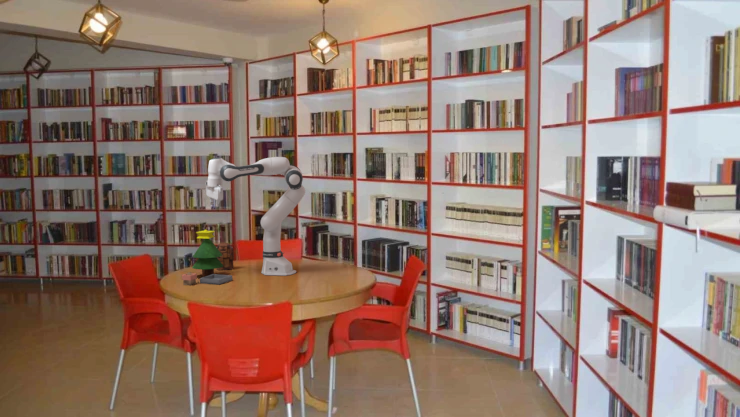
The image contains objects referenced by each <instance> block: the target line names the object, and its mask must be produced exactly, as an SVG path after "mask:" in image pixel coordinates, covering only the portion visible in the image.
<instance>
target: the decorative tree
mask: <svg viewBox="0 0 740 417" xmlns="http://www.w3.org/2000/svg"><path fill="white" fill-rule="evenodd" d="M215 231H216V230H208V229H204V230H200V231H196V232H195V234H197V235H198V236H197V237H196V239H203V240H202V242H201V243H200V245H199V246H198V248H197V250H196V251H195V253H194V254H193V256H192V258H196V260H195V263H194V264H193V265H192V267H191V268H192V269H195V270H201V278H203V277H206V276H209V275H212V274H215V269H216V268H221V267H223V264H222V263H221V262H220V261H219V260H218V259H217V257H220V256H222V254H221V253H220V251H219V250H218V249H217V246H216V244H214V242H213V241H212V240H211V239H212V238H215V235H213V234H214V233H215ZM216 270H217V269H216Z"/></svg>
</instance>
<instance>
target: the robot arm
mask: <svg viewBox="0 0 740 417" xmlns="http://www.w3.org/2000/svg"><path fill="white" fill-rule="evenodd" d="M207 174H208V177H207V180H206V181H205V195H206V197H207V198H208V199H209V205H214V200H215V205H214V206H215V208H219V207H220V203H221V201H223V200H224V190H223V181H225V182H232V181H234V180H236V179H237V178H240V177H246V176H247V177H248V176H273V175H282V176H284V179H285V180H284V181H285V182H286V184H287V185H288V188H287V190H286V191H285V192H284V193H283V194H282V195H281V196H280V198H278V200H276V202H275V203H274V204H273V205H272V206H271V207H270V208H269V209H268V210H267V211H266V212H265V213H264V214H263V215H262V217H261V219H260V227H261V228H262V229H263V230H264V231H263V238H262V247H263V250H262V260H263V261H262V268H261V271H260V272H261V274H262V275H263V276H286V277H287V276H291V275H294V274H296V273H297V269H296V270H295V269H293V263H292V262H291V261H289V260H288V259H287V258H286V257H285V256H284V254H285V252H284V251H282V250H281V235H282V234H281V233H282V222H283V221H284V220H285V219H286V218H287V217H288V216H289V215H290V214H291V213H292V211H293V210H294V209H295V208H296V207H297V206H298V204H299V203H300V202H301V201H302V199H303V198H304V196H305V195H306V188H305V187H304V186H303V180H304V179H303V173H302V171H301V169H300V168H299V167H297V166H296V165H293V164H291V163H290V161H289V159H288V158H287V157H285V156H273V157H267V158H266V157H265V158H262V159H260V160H258V161H256V162H254V163H252V164H246V165H238V166H236V165H235V164H234V163H231V162H228V161H226V160H225V159H224V158H222V157H213V158H211V159H210V160H209V161H208V168H207Z"/></svg>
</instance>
